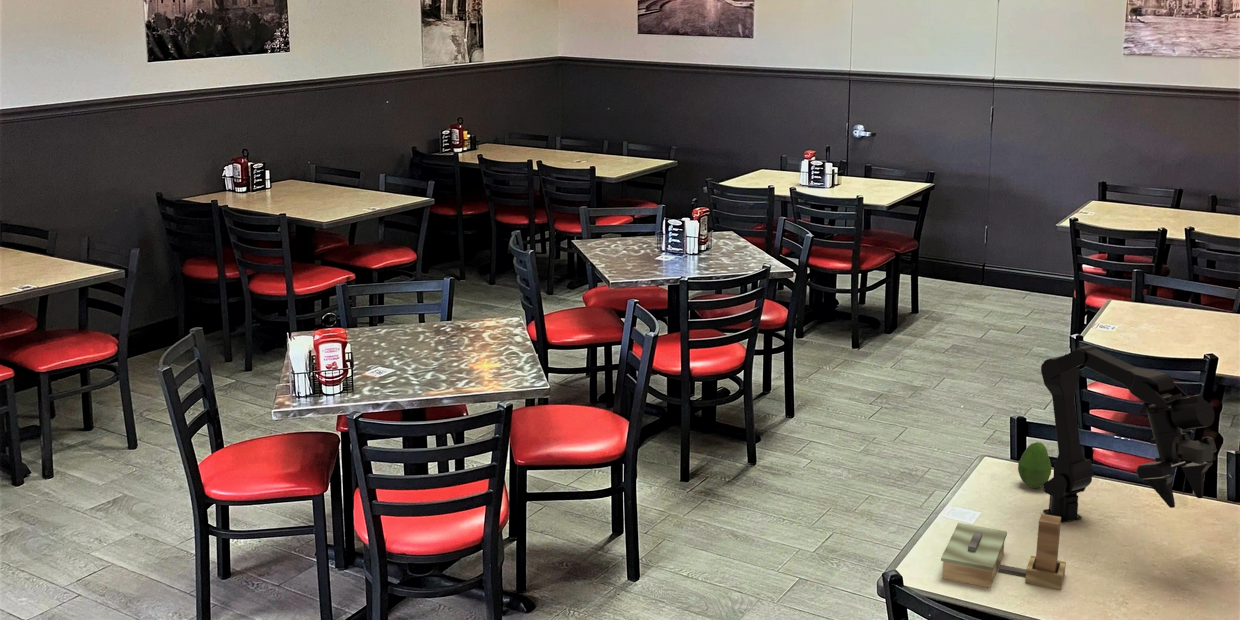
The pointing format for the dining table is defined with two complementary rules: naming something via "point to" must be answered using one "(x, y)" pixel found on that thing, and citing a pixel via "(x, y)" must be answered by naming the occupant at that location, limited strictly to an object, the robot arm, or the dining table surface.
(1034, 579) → the wooden box with frame
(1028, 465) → the avocado
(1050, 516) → the brown wooden block
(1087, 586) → the dining table surface
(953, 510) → the dining table surface
